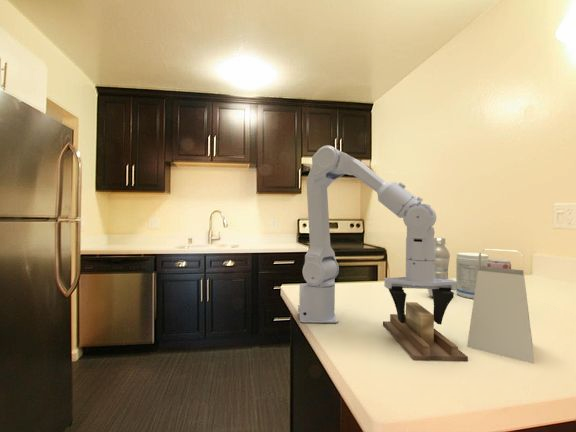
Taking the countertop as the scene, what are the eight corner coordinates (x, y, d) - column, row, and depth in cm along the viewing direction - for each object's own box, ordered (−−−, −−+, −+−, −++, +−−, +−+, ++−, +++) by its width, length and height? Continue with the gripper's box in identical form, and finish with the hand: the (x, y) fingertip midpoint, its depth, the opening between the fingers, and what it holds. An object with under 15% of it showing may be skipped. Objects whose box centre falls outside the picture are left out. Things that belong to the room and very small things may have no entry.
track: (413, 360, 54) (413, 345, 54) (382, 324, 72) (382, 314, 72) (467, 361, 54) (467, 346, 54) (423, 325, 72) (423, 314, 72)
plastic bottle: (453, 301, 94) (453, 239, 94) (430, 299, 95) (431, 238, 95) (446, 296, 100) (446, 238, 100) (425, 294, 101) (425, 237, 101)
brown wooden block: (420, 344, 59) (420, 314, 59) (405, 327, 68) (405, 302, 68) (433, 345, 58) (434, 315, 58) (416, 328, 67) (417, 302, 67)
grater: (474, 332, 68) (474, 246, 68) (532, 344, 61) (533, 250, 61) (467, 346, 60) (467, 249, 60) (533, 363, 53) (534, 254, 53)
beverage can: (500, 315, 80) (500, 261, 80) (481, 309, 85) (482, 258, 85) (516, 314, 81) (516, 260, 81) (496, 308, 87) (496, 258, 87)
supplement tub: (462, 291, 107) (462, 251, 107) (492, 297, 100) (493, 254, 100) (451, 295, 101) (451, 253, 101) (483, 301, 94) (483, 256, 94)
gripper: (445, 257, 66) (445, 317, 66) (381, 256, 67) (380, 314, 67) (462, 262, 59) (461, 328, 59) (389, 260, 60) (389, 325, 60)
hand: (419, 322), depth 63 cm, fingers open, 7 cm apart
